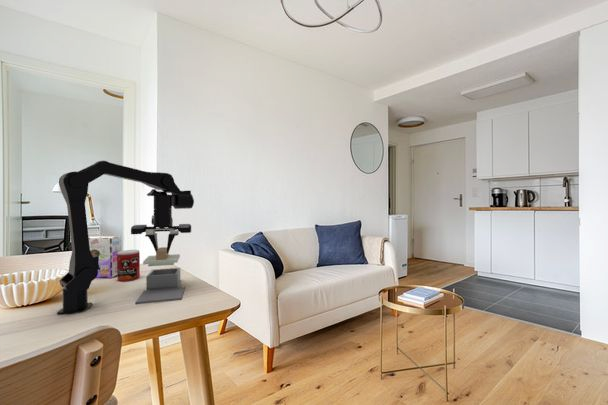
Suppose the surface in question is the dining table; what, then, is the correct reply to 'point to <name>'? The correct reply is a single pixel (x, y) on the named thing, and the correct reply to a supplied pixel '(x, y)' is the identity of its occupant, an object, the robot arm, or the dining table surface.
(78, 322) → the dining table surface
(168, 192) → the robot arm
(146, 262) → the lid
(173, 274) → the storage box
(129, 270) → the canned food
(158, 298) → the mat
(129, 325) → the dining table surface
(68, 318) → the dining table surface
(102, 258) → the candy box
